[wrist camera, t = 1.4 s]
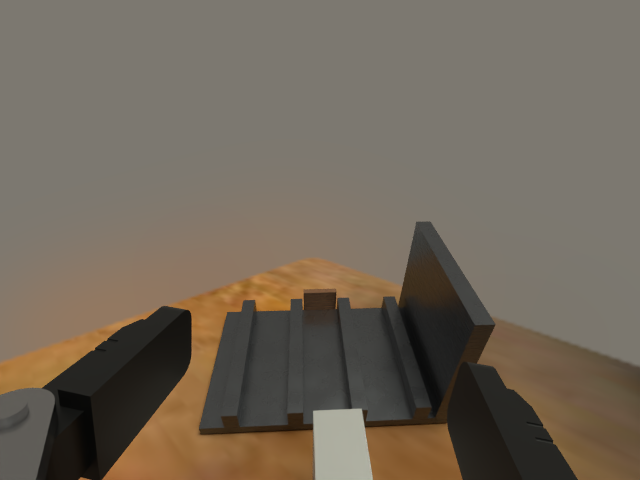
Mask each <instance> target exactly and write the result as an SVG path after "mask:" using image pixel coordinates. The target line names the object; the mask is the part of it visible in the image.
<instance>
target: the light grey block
mask: <svg viewBox="0 0 640 480" xmlns="http://www.w3.org/2000/svg"><path fill="white" fill-rule="evenodd" d="M313 480H373V477H372V471H371V465H370V458H369V452H368V446H367V439H366V433H365V427H364V420H363V414H362V409H340V410H317V411H313Z"/></svg>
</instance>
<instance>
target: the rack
mask: <svg viewBox="0 0 640 480" xmlns="http://www.w3.org/2000/svg"><path fill="white" fill-rule="evenodd" d="M335 305H336V289H309V290H304V310H302V299H291V311H256V303H255V300H244V301H243V306H242V311H241V312H227V316H226V320H225V324H224V328H223V332H222V337H221V341H220V345H219V349H218V353H217V357H216V361H215V365H214V369H213V373H212V378H211V382H210V386H209V390H208V394H207V398H206V402H205V406H204V410H203V414H202V419H201V423H200V427H199V430H200V432H201V434H214V433H235V432H257V431H278V430H300V429H313V411H317V410H340V409H362V414H363V420H364V426H386V425H407V424H429V423H447V410H448V404H449V401H450V398H451V394H452V391H453V387H454V384H455V381H456V377H457V374H458V371H459V367H460V365H461V364H462V363H463V362H470V363H475V364H477V362H478V360H479V358H480V356H481V354H482V351H483V349H484V347H485V345H486V343H487V341H488V339H489V337H490V335H491V333H492V331H493V329H494V327H495V325H496V324H495V323H494V321H493V320H492V318H491V317H490V315H489V313H488V312H487V310H486V309H485V307H484V306H483V304H482V302H481V301H480V299H479V298H478V296H477V295H476V293H475V291H474V290H473V288H472V287H471V285H470V283H469V282H468V280H467V279H466V277H465V276H464V274H463V272H462V271H461V269H460V268H459V266H458V265H457V263H456V261H455V260H454V258H453V257H452V255H451V254H450V252H449V250H448V249H447V247H446V246H445V244H444V243H443V241H442V239H441V238H440V236H439V235H438V233H437V231H436V230H435V228H434V227H433V225H432V224H431V222H416V227H415V231H414V236H413V241H412V245H411V250H410V254H409V259H408V264H407V268H406V273H405V277H404V282H403V287H402V291H401V296H400V300H399V305H398V306H397V303H396V300H395V297H383V302H382V308H364V309H351V308H350V302H349V298H338V299H337V309H335Z"/></svg>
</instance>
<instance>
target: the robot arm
mask: <svg viewBox="0 0 640 480" xmlns="http://www.w3.org/2000/svg"><path fill="white" fill-rule="evenodd" d="M191 321H192V319H191V313H190V311H189V310H184V309H179V308H173V307H168V306H163V307H161V308H159V309H158V310H157V311H156V312H154V313H153V314H152V315H150V316H149V317H148V318H147V319H145V320H143V319H141V320H139V321H136V322H134V323H132V324H129V325H127V326H125V327H122V328H121V329H120V330H118V331H117V332H116V333H114V334H113V335H112V336H110V337H109V338H108V340H107V341H104V342H102V343H101V344H100V345H99V346H97V347H96V348H95V350H94V351H91V352H89V353H88V354H87V355H85V356H84V357H83V358H81V359H80V360H79V361H77V362H76V363H75V364H73V365H72V366H71V367H69V368H68V369H67V370H65V371H64V372H63V373H61V374H60V375H59V376H57V377H56V378H55V379H53V380H52V381H51V382H49V383H48V384H47V385H45V386H44V387H43V388H25V389H19V390H15V391H11V392H8V393H5V394H2V395H0V480H78V479H79V478H80V477H83V478H87V479H91V480H102V479H103V477H104V476H105V475H106V474H107V472H108V471H109V470H110V469H111V467H112V466H113V465H114V463H115V462H116V461H117V460H118V458H119V457H120V456H121V455H122V453H123V452H124V451H125V450H126V448H127V447H128V446H129V444H130V443H131V442H132V441H133V439H134V438H135V437H136V436H137V434H138V433H139V432H140V430H141V429H142V428H143V427H144V425H145V424H146V423H147V422H148V420H149V419H150V418H151V417H152V415H153V414H154V413H155V411H156V410H157V409H158V408H159V406H160V405H161V404H162V403H163V401H164V400H165V399H166V397H167V396H168V395H169V394H170V392H171V391H172V390H173V389H174V387H175V386H176V385H177V383H178V382H179V381H180V380H181V378H182V377H183V376H184V374H185V373H186V371H187V369H188V366H189V364H190V360H191ZM447 424H448V430H449V434H450V437H451V441H452V444H453V448H454V451H455V454H456V458H457V461H458V465H459V468H460V472H461V475H462V478H463V480H578V479H577V478H576V476H575V474H574V473H573V471H572V470H571V468H570V467H569V465H568V463H567V462H566V460H565V459H564V457H563V456H562V454H561V452H560V451H559V449H558V448H557V446H556V445H554V444H553V440H552V438H551V437H550V435H549V433H548V432H547V430H546V429H544V428H543V424H542V422H541V421H540V419H539V418H538V416H537V415H536V413H535V411H534V410H533V408H532V407H531V406H530V405H529V404H528V403H527V402H526V401H525V400H524V399H523V398H522V397H521V396H520V395H519V394H517V393H516V392H515V391H514V390H511V389H507V388H506V386H505V385H504V383H503V381H502V380H501V378H500V376H499V374H498V373H497V371H496V369H495V368H494V367H492V366H486V365H481V364H475V363H470V362H463V363H462V364H461V365H460V367H459V371H458V374H457V377H456V381H455V384H454V387H453V391H452V394H451V398H450V401H449V404H448V410H447Z"/></svg>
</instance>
